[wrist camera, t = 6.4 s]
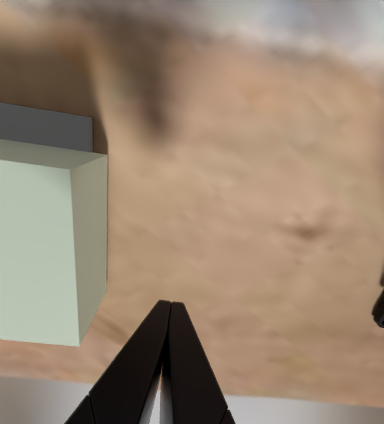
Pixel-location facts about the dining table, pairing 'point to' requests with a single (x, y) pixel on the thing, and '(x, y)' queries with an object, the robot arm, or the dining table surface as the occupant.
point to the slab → (51, 242)
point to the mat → (46, 127)
